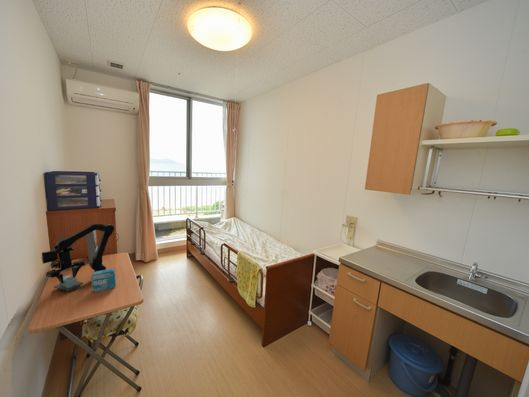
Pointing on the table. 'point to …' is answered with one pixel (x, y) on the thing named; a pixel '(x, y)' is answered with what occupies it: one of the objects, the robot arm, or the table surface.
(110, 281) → the data package
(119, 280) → the table surface
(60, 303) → the table surface
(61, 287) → the stand
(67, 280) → the housing
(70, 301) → the table surface
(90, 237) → the cassette tape recorder
